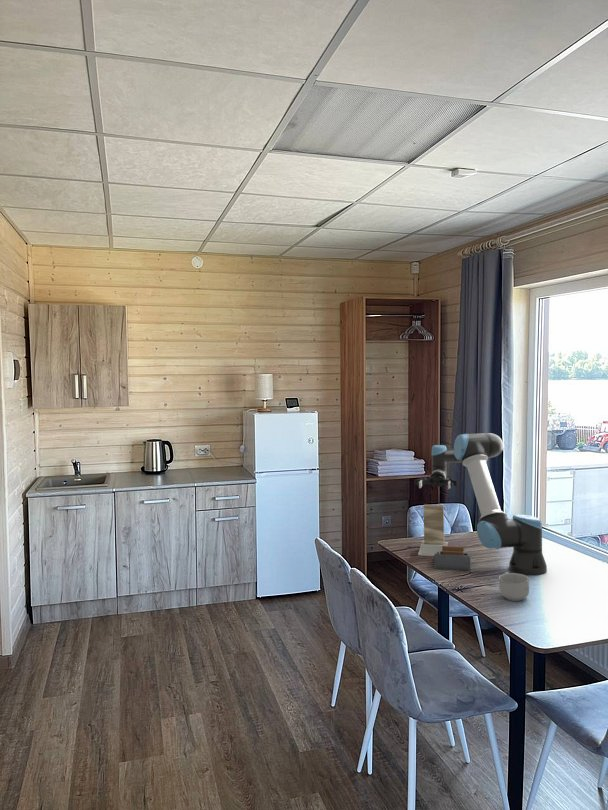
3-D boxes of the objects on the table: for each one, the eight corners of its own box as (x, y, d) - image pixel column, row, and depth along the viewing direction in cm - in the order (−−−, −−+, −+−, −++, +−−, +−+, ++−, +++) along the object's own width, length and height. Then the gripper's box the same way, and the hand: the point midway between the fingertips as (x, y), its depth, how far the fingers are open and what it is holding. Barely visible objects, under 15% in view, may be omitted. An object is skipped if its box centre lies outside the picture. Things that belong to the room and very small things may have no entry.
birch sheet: (424, 550, 285) (424, 504, 284) (444, 551, 283) (443, 505, 282) (424, 552, 283) (423, 505, 282) (444, 553, 280) (443, 506, 279)
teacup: (532, 604, 221) (531, 582, 221) (501, 603, 223) (501, 581, 223) (524, 590, 235) (524, 570, 235) (495, 589, 237) (495, 569, 236)
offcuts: (442, 563, 267) (442, 545, 267) (463, 564, 264) (463, 546, 264) (441, 567, 261) (441, 549, 261) (463, 568, 258) (463, 550, 258)
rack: (437, 561, 274) (436, 545, 274) (471, 563, 270) (471, 547, 270) (434, 571, 260) (434, 554, 260) (470, 574, 256) (470, 556, 255)
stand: (420, 552, 290) (420, 539, 289) (450, 553, 285) (450, 541, 285) (418, 558, 280) (417, 545, 280) (448, 560, 276) (448, 547, 276)
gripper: (463, 486, 304) (461, 494, 284) (413, 484, 312) (408, 492, 292) (463, 471, 304) (461, 478, 284) (413, 470, 311) (407, 477, 291)
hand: (434, 485), depth 288 cm, fingers open, 13 cm apart
